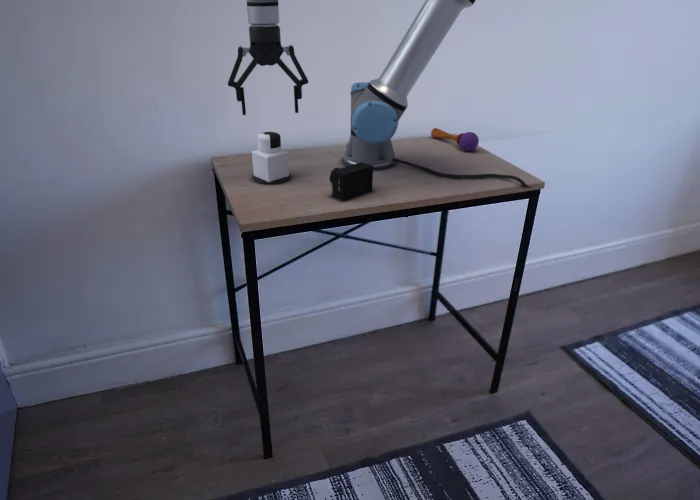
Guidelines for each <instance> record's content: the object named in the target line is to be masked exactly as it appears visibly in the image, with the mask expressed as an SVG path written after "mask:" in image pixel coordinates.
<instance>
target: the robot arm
mask: <svg viewBox="0 0 700 500" xmlns="http://www.w3.org/2000/svg"><path fill="white" fill-rule="evenodd" d="M476 1H477V0H425V1H424V2H423V5H421V7H420V9H419V11H418V12H417V14H416V15H415V17H414V19H413V21H412V22H411V24H410V26H409V27H408V29H407V31H406V32H405V34H404V36H403V37H402V39H401V41H400V42H399V45H398V46H397V47H396V49H395V51H394V53H393V54H392V55H391V56H390V59H389V61H388V62H387V63H386V66H385V67H384V69H383V71H382V72H381V73H380V76H378V77H377V78H376V79H372V80H369V81H367V82H366V81H365V82H360V81H359V82H353V84H351V87H350V93H349V94H350V134H349V135H350V136H349V138H348V142H347V143H346V146H345V151H344V155H343V157H344V158H343V161H344V163H345V165H347V166H350V165H354V164H357V163H360V162H363V163H366V164H369V165H371V166H373V170H383V169H386V168H390V167H392V166H393V165H394V164H395V163H399V164H402V165H406V166H408V167H409V166H410V167H413V168H417V169H420V170H423V171H425V172H428V173H431V174H433V175H435V176H440V177H445V178H453V179H454V178H457V179H480V178H500V179H510V180H515V181H516V182H518V183H519V184H521V185H522V187H523V188H528V185H527V183H526V182H525V181H524V180H523V179H522V178H520V177H518V176H516V175H509V174H498V173H479V174H452V173H445V172H440V171H436V170H433V169H431V168H429V167H426V166H423V165H420V164H417V163H413V162H409V161H406V160H402V159H398V158H396V154H395V150H394V146H393V142H392V138H393V137H394V136H395V134H396V132H397V130H398V126H399V121H400V120H401V118H402V116H403V115H404V113H405V112H406V110H407V108H408V107H409V101H408V96H409V94H410V93H411V91H412V89H413V88H414V87H415V85H416V84H417V81H418V80H419V78H420V77H421V75H423V74H422V73H423V72H424V71H425V69H426V67H427V66H428V64H429V62H430V61H431V60H432V58H433V56H434V55H435V54H436V52H437V50H438V48H439V47H440V46H441V44H442V42H443V41H444V39H445V37H446V36H447V35H448V33H449V32H450V30H451V28H452V27H453V25H454V23H455V22H456V21H457V18H458V17H459V16H460V14H461V12H462V11H463V10H464V9H466V8H470V7H471V8H472V7H473V5H474V4H475V3H476ZM279 7H280V6H279V0H246V11H247V23H248V24H249V27H248V35H249V47H244V46H242V45H240V46H238V47H237V57H236V59H235V63H234V65H233V68H232V71H231V73H230V76H229V78H228V81H227V86H228V87H230V88H234V89H235V94H236V95H235V97H236V101H237V102H240V103H241V110H242V116H247V109H246V99H245V89H244V88H245V87H244V86H243V84H244V83H245V82H246V80H247V79H248V77H249V76H250V74H251V73H252V72H253V70H254V69H255V68H256V66H257V65H259V66H261V67H264V66H271V67H272V66H275V65H276V64H277V65H278V66H279V68H280V69H281V70H282V71H283V73H285V74H286V76H287V77H289V79H291V81H292V82H293V83H294V84H295V85H293V100H294V112H295V114H299V100H302V98H303V90H302V89H303V88H302V87H303V86H305V85H308V84H309V79H308V77H307V75H306V74H305V73H306V72H304V70H303V67H302V66H301V63H300V62H299V60H298V58H297V55H296V53H295V48H294V46H293V44H289V45H288V46H287V45H286V46H282V40H281V39H282V38H281V27H280V25H279V23H280V8H279ZM283 53H285V54H286V56H289V57H290V60H291V61H292V63H293V65H294V67H295V69H296V70H297V72H298V75H299V77H300V78H301V79H299V78H298V77H297V75H295V73H294V72H293V71H292V70H291V69H290V68H289V67H288V66H287V64H286V63H285V62H284V61H283V60H282V59H281V57H282V56H283ZM247 54H249V55H250V56H251V58H253V59H252V60H251V61H250V63H249V64H248V66H247V67H246V69H245V70H244V71H243V73H242V74H241V75H240V77H239V78H238V79H237V80H236V81H235V79H236V77H237V75H238V73H239V69H240V67H241V64H242V62H243V58H245V57H246V56H247ZM519 279H520V278H517V277H515V280H514V286H513V292H515V293H517V291H518V285H519Z"/></svg>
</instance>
